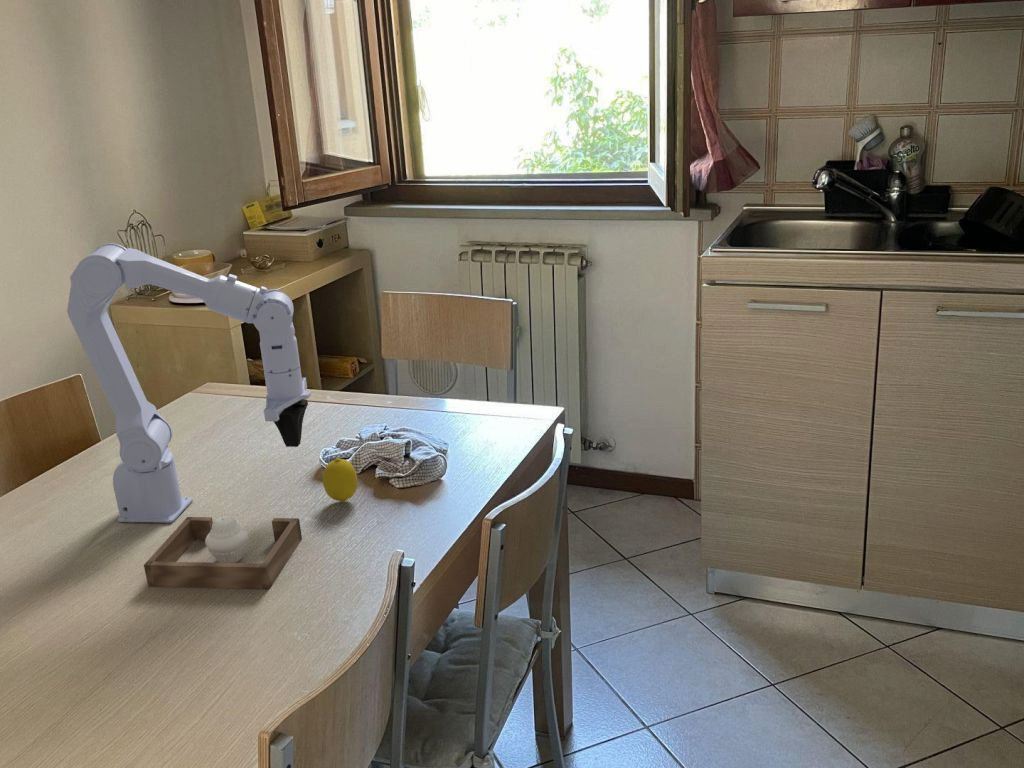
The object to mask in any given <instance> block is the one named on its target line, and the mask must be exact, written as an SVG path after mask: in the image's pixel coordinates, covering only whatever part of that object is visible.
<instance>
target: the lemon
mask: <svg viewBox="0 0 1024 768" xmlns="http://www.w3.org/2000/svg"><path fill="white" fill-rule="evenodd" d="M322 476H323V477H322V483H323V484H322V485H323V488H324V490H325V492H326V494H327V496H328V497H329V498H330V499H332V500H334V501H339V502H340V503H341V504H343V503H345V502H346V501H347V500H348V499H351V498H352V497H353V496H354V495H355V493H356V491H357V489H358V475H357V472H356V469H355V467H354V465H353V464H352V463H351V462H350V461H348V460H347V459H344V458H343V459H342V458H340V457H336V458H335V459H333V460H332V461H330V462H329V463H327V465H326V466H325V468H324V471H323V474H322Z"/></svg>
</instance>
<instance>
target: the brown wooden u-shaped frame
mask: <svg viewBox="0 0 1024 768" xmlns="http://www.w3.org/2000/svg"><path fill="white" fill-rule="evenodd" d="M213 522H214V521H213V517H212V516H211V517H210V516H209V517H208V516H201V517H200V516H186V518H185V519H184V520H183V521H182V522H181V523H180V524H179V526H177V528H176V529H175V530H174V531H173V532H172V533H171V534H170V535H169V537H167V539H166V540H165V541H164V542H163V543H162V544H161V545H160V547H159V548H158V549H157V550H156V551H155V552H154V553H153V554H152V555H151V557H149V559H148V560H147V561H146V562H145V563H144V564H143V568H144V573H145V578H146V583H147V585H148V586H147V587H157V588H158V587H160V588H161V587H163V588H164V587H165V588H166V587H167V588H198V589H199V588H200V589H201V588H206V589H207V588H208V589H210V588H211V589H243V590H244V589H245V590H249V589H250V590H270V589H271V587H272V586H273V584H274V583H275V581H276V580H277V578H278V577H279V576H280V574H281V572H282V571H283V569H284V568H285V566H286V564H287V563H288V561H289V559H291V556H292V555H293V553H294V552H295V550H296V548H297V547H298V545H299V544H300V542H302V541H301V540H302V539H303V535H302V528H301V522H300V518H297V517H295V518H294V517H290V518H288V517H286V518H285V517H283V518H282V517H273V519H272V520H271V525H272V531H273V532H272V533H273V539H274V542H275V544H274V545H273V547H272V548H271V550H270V551H269V552H268V553H267V555H266V556H265V557H264V560H263V561H262V563H259V562H255V563H253V562H251V563H250V562H236V563H220V562H209V561H208V562H206V561H205V562H202V561H198V562H197V561H196V562H195V561H194V562H193V561H178V560H179V559H180V558H181V557H182V555H183V554H185V552H186V551H187V550H188V549H189V547H190V546H191V544H193V542H194V541H205V539H206V537H207V535H208V534H209V533H210V531H211V529H212V524H213Z"/></svg>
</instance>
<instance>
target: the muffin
mask: <svg viewBox="0 0 1024 768" xmlns="http://www.w3.org/2000/svg"><path fill="white" fill-rule="evenodd" d="M248 539H249V533H248V530H247V529H246V528H245V527H244V526H242V525H240V524H239V523H238V522H237V520H236V519H235V518H234V517H233V516H225V515H224V516H221V517H218V518H217V519H215V520H214V521H213V524H212V529H211V531H210V533H209V534H208V535H207V537H206V539H205V540H204V542H205V543H204V544H205V546H206V548H207V549H208V551H209V553H210V554H211V555H212V556H213V557H214V558H215V560H217V562H218V563H239V561H241V559H242V557H243V555H244V552H245V549H246V547H247V543H248Z"/></svg>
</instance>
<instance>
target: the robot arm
mask: <svg viewBox="0 0 1024 768" xmlns="http://www.w3.org/2000/svg"><path fill="white" fill-rule="evenodd" d="M69 279H70V280H69V281H70V290H69V296H68V302H67V310H66V311H67V315H68V318H69V320H70V322H71V324H72V326H73V328H74V331H75V333H76V335H77V338H78V339H79V342H80V344H81V346H82V348H83V350H84V352H85V355H86V356H87V358H88V360H89V363H90V365H91V367H92V369H93V371H94V373H95V376H96V378H97V381H98V382H99V384H100V386H101V389H102V391H103V393H104V394H105V397H106V399H107V401H108V403H109V405H110V407H111V409H112V411H113V414H114V416H115V433H116V437H117V440H118V441H119V457H120V460H121V462H119V463H118V464H117V466H116V467H115V469H114V472H113V477H112V487H113V491H114V496H115V501H116V505H117V510H118V514H119V517H118V518H117V521H118V523H170V524H171V523H173V522H174V521H175V520H176V519H177V518H178V517H179V516H180V515H181V514H182V513H183V511H184V510H186V508H188V506H189V505H190V504H191V503H192V502H193V500H194V499H193V497H183V496H182V493H181V488H180V487H181V486H180V484H179V483H180V482H179V478H178V473H177V468H176V462H175V457H174V454H173V452H172V451H171V450H170V448H169V446H168V445H169V443H171V440H172V438H173V429H172V426H171V424H170V422H168V420H166V419H165V418H164V417H163V416H162V415H160V413H159V412H158V410H157V407H156V406H155V405H154V404H153V403H151V402H149V401H148V400H147V397H146V396H145V393H144V391H143V388H142V387H141V384H140V382H139V379H138V378H137V376H136V372H135V370H134V369H133V367H132V365H131V361H130V360H129V357H128V355H127V353H126V351H125V349H124V346H123V344H122V343H121V340H120V338H119V336H118V333H117V332H116V329H115V326H114V324H113V322H112V321H111V318H110V316H109V313H108V309H109V307H110V304H111V303H112V301H113V299H114V297H115V295H116V292H117V291H118V290H119V289H120V288H121V287H122V286H123V285H124V284H125V287H124V288H125V290H126V291H127V290H131V289H135V288H139V287H143V286H146V285H152V286H155V287H159V288H162V289H165V290H170V291H173V292H177V293H180V294H183V295H186V296H190V297H194V298H196V299H200V300H202V301H203V302H204V304H205V305H206V307H207V309H208V310H209V311H211V312H214V313H217V314H220V315H223V316H226V317H229V318H232V319H235V320H238V321H240V322H244V323H247V324H253V325H254V327H255V328H256V329H257V331H258V334H259V340H260V342H259V347H260V353H261V361H262V366H263V373H264V379H265V386H266V395H265V399H266V400H265V407H264V409H263V415H264V420H265V422H272V423H274V424H275V427H276V428H277V430H278V431H279V434H280V437H281V438H282V440H283V444H284V445H285V447H286V448H297V447H299V445H300V444H301V441H302V432H303V422H304V417H305V413H306V409H307V408H308V405H309V401H308V399H309V398H310V397H311V396H312V392H311V390H307V389H308V382H307V377H302V370H301V362H300V354H299V346H298V340H297V337H296V335H295V334H296V329H295V327H294V323H293V316H294V303H293V301H292V299H291V298H290V296H289V295H288V294H286V293H285V292H282V291H281V290H280V289H277V288H276V289H274V288H271V289H268V287H265V286H263V285H261V287H257V286H254V285H250V284H249V283H245V282H242V281H239V280H238V276H237V275H235V274H231V273H228V275H227V276H226V275H222V274H220V275H217V276H216V277H213V278H208V277H205V276H202V275H200V274H197V273H195V272H193V271H190V270H187V269H185V268H182V267H180V266H178V265H175V264H174V263H173V264H172V263H170V262H167V261H165V260H162V259H160V258H158V257H155V256H152V255H150V254H147V253H146V252H143V251H142V250H139V249H136V248H131V247H127V248H126V247H124V246H123V245H121V244H118V243H114V242H113V243H104V244H102V245H100V246H98V247H97V248H96V249H95V250H94V251H93V252H91V254H89V255H88V256H85V257H84V258H83V259H81V260H80V261H79V262H78V264H77V265H76V267H75V269H74V270H73V272H72V273H71V275H70V277H69Z"/></svg>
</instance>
